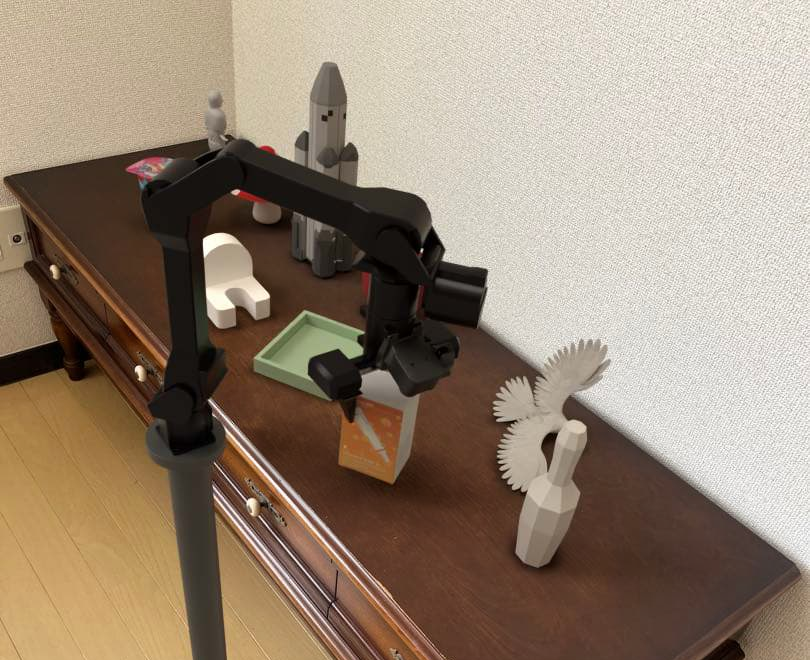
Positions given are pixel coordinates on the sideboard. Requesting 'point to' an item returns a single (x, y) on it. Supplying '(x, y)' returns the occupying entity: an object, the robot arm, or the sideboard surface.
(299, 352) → the tray
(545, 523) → the low poly bottle
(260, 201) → the decorative mushroom
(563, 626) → the sideboard surface
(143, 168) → the cup
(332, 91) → the toy rocket
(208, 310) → the white slotted holder
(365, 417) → the small box
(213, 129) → the figurine
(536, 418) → the bird
